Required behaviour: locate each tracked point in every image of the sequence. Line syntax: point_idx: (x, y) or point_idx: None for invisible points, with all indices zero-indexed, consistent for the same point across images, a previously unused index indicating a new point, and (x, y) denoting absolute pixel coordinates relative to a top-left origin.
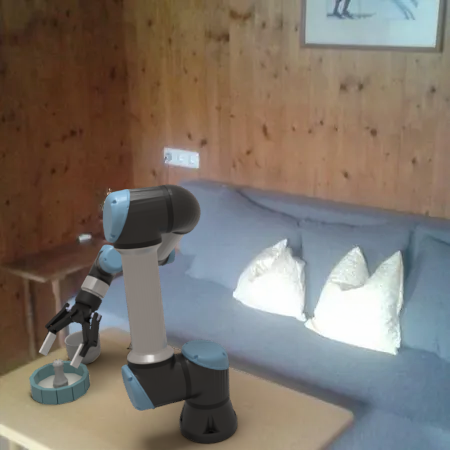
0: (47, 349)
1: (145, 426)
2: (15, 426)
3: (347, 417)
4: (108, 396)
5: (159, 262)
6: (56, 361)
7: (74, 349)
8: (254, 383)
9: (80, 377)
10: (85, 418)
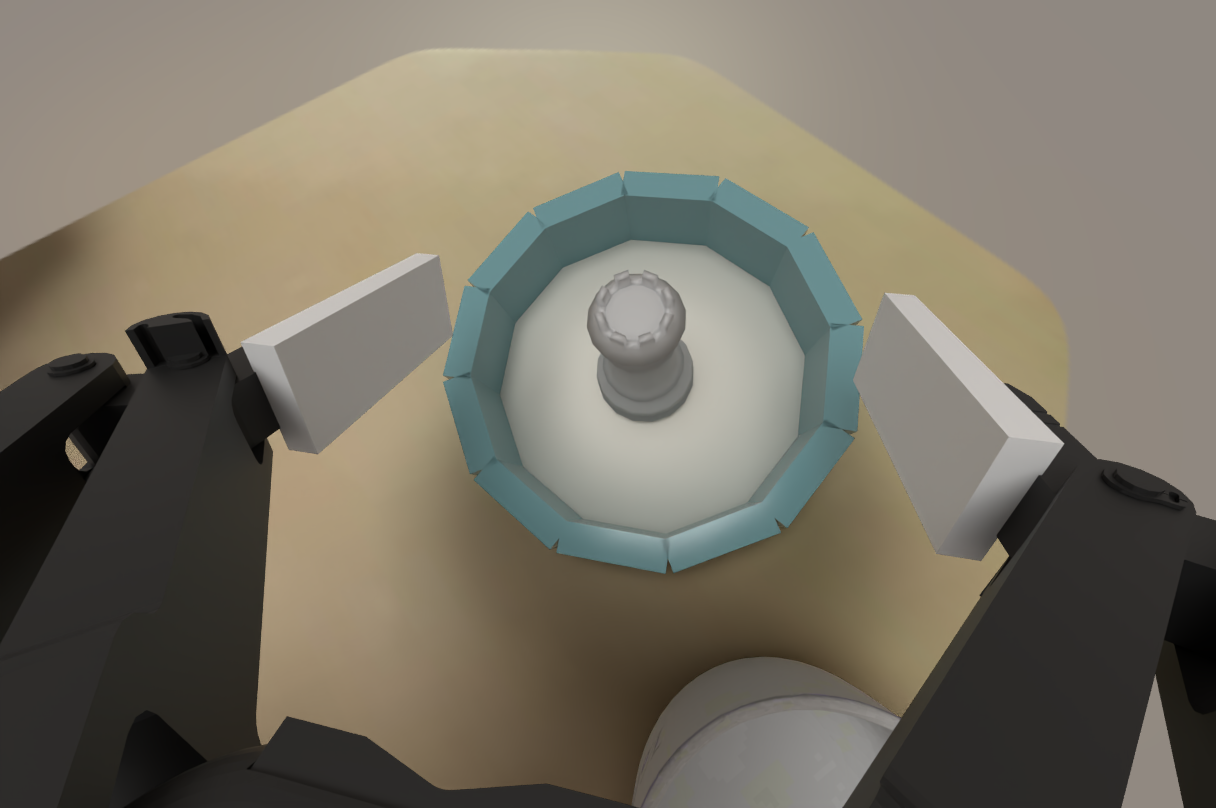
0: (878, 387)
1: (101, 319)
2: (617, 60)
3: None
4: (357, 437)
5: None
6: (652, 311)
7: (767, 690)
8: None
9: (595, 506)
10: (365, 243)
